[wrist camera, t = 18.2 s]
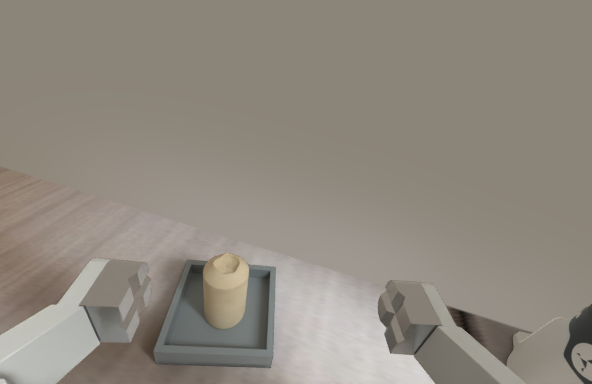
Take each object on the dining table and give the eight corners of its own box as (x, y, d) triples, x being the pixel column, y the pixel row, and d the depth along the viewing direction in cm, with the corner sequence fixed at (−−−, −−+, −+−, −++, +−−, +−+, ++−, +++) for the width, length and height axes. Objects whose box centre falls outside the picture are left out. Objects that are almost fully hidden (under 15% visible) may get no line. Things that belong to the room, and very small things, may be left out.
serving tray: (273, 278, 46) (275, 266, 44) (270, 367, 35) (273, 356, 33) (188, 271, 44) (187, 259, 43) (155, 363, 33) (153, 351, 31)
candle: (201, 330, 36) (198, 280, 31) (207, 293, 41) (206, 244, 35) (243, 329, 37) (249, 281, 32) (245, 294, 42) (250, 246, 36)
